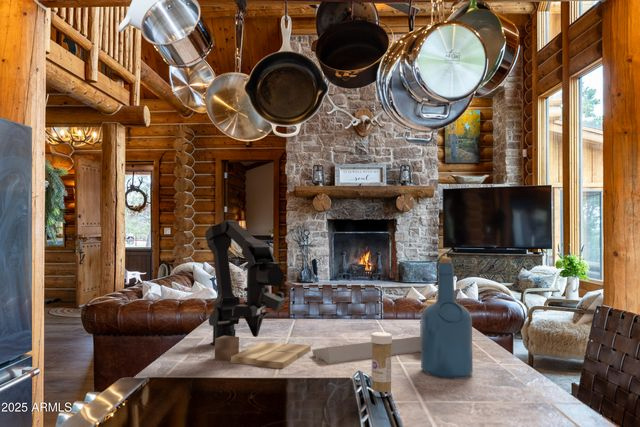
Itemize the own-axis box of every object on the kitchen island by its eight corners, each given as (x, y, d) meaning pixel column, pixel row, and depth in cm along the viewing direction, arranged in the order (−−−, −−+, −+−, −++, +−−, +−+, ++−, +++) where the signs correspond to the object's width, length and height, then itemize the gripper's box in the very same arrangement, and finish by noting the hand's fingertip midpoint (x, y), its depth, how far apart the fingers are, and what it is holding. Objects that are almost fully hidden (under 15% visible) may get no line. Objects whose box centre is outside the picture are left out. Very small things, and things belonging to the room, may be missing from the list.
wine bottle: (416, 365, 126) (416, 256, 128) (465, 366, 126) (463, 257, 128) (426, 380, 113) (425, 258, 115) (480, 381, 112) (479, 258, 114)
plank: (230, 362, 128) (230, 356, 128) (261, 347, 147) (261, 342, 147) (256, 364, 126) (256, 358, 126) (284, 348, 145) (284, 343, 145)
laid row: (255, 365, 125) (256, 359, 125) (286, 348, 145) (286, 343, 146) (283, 368, 122) (283, 362, 122) (310, 350, 143) (310, 345, 143)
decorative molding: (313, 366, 135) (330, 365, 127) (312, 349, 136) (328, 347, 128) (404, 354, 151) (424, 351, 143) (402, 339, 153) (421, 336, 145)
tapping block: (214, 360, 130) (215, 338, 131) (223, 356, 135) (224, 335, 135) (230, 361, 129) (230, 340, 129) (238, 357, 133) (239, 336, 134)
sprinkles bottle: (367, 395, 101) (367, 333, 102) (378, 390, 105) (378, 330, 105) (384, 400, 98) (384, 336, 99) (395, 394, 102) (395, 333, 102)
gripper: (267, 287, 127) (266, 345, 126) (292, 282, 144) (292, 332, 143) (232, 286, 130) (230, 342, 129) (260, 281, 148) (259, 330, 147)
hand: (255, 336), depth 137 cm, fingers closed
